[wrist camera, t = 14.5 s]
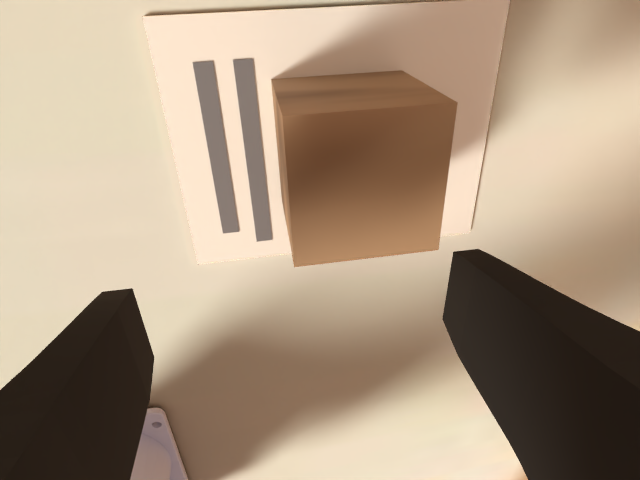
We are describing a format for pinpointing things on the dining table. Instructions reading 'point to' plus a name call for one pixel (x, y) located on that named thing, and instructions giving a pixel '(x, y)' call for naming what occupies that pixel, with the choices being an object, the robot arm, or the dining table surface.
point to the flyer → (304, 61)
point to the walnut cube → (362, 164)
